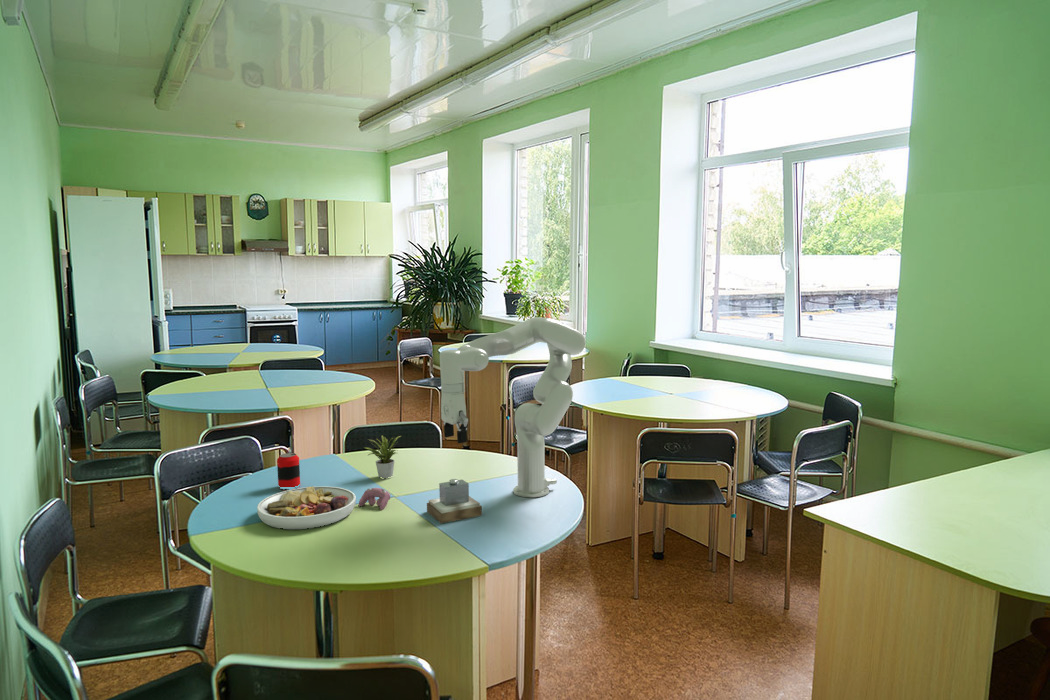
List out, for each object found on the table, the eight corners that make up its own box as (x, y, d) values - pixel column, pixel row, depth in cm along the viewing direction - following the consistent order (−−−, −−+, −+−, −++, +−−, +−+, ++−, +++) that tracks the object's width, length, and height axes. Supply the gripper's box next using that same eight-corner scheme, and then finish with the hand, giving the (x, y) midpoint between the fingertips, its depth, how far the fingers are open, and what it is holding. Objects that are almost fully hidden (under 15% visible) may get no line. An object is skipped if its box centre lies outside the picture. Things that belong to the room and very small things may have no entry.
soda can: (302, 488, 241) (301, 455, 240) (281, 491, 237) (279, 459, 236) (297, 482, 248) (295, 451, 246) (276, 486, 243) (274, 454, 242)
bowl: (236, 526, 205) (235, 501, 204) (300, 496, 233) (299, 474, 232) (317, 538, 195) (316, 512, 194) (374, 505, 223) (373, 483, 222)
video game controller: (388, 511, 220) (393, 490, 223) (381, 509, 217) (386, 488, 219) (364, 508, 224) (369, 487, 227) (356, 506, 220) (361, 484, 223)
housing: (439, 501, 214) (439, 480, 213) (462, 497, 217) (462, 476, 217) (445, 506, 209) (445, 484, 208) (468, 501, 213) (468, 480, 212)
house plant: (388, 468, 265) (387, 428, 263) (413, 474, 257) (412, 433, 255) (360, 477, 253) (358, 435, 252) (385, 484, 245) (384, 440, 243)
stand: (466, 504, 222) (466, 492, 222) (481, 515, 212) (481, 503, 211) (426, 511, 216) (426, 499, 215) (441, 523, 205) (440, 511, 205)
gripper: (431, 385, 221) (434, 436, 223) (454, 393, 206) (456, 447, 208) (452, 383, 224) (454, 432, 227) (475, 390, 210) (478, 443, 212)
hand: (455, 439), depth 217 cm, fingers open, 9 cm apart
